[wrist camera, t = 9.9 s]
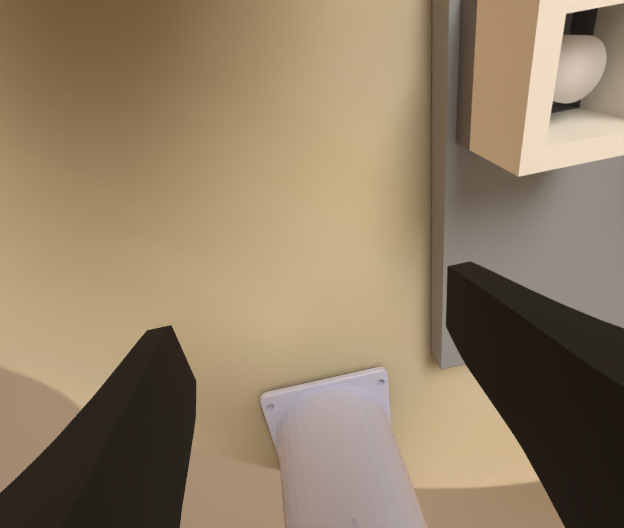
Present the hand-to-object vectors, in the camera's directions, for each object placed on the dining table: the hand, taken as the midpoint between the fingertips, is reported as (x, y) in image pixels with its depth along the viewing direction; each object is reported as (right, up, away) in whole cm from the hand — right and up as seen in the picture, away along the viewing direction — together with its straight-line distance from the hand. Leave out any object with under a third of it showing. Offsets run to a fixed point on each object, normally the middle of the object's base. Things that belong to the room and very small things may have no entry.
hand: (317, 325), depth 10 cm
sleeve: (+8, +9, +5) cm, 13 cm away
